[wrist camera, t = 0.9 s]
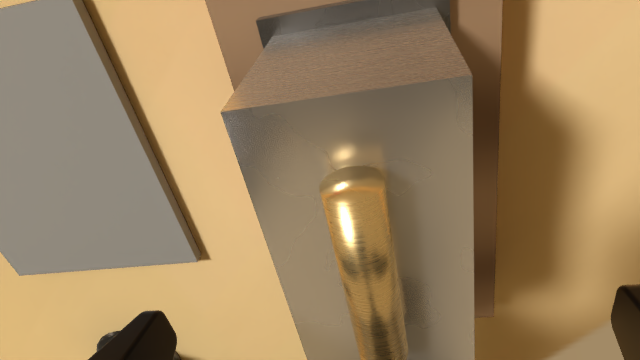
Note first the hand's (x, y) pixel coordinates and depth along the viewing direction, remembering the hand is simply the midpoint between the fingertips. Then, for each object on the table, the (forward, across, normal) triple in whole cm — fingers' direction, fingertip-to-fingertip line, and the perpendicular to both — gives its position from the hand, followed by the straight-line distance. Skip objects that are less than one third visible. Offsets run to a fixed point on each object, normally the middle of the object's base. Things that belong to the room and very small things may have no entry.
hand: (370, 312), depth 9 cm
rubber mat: (+9, +14, 0) cm, 17 cm away
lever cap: (+6, 0, 0) cm, 6 cm away
